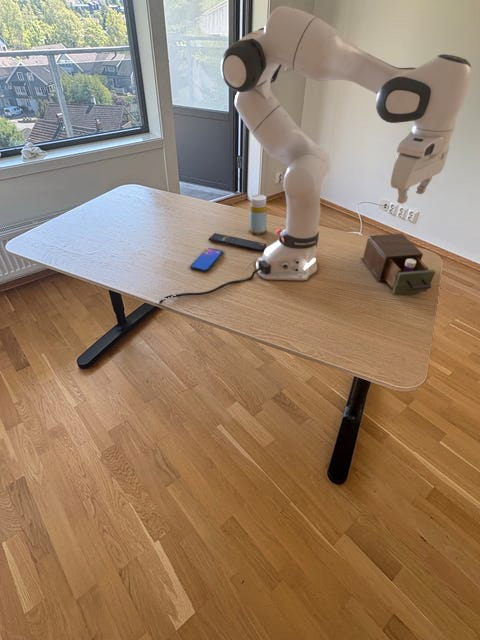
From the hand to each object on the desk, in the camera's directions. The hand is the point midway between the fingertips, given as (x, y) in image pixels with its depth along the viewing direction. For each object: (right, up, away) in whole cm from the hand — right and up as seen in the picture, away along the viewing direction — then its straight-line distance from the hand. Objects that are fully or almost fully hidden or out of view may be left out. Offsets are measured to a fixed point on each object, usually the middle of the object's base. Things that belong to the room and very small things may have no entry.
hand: (410, 197), depth 91 cm
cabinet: (+8, -14, +35) cm, 38 cm away
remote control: (-46, -2, +50) cm, 68 cm away
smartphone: (-58, -10, +41) cm, 71 cm away
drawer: (+10, -21, +25) cm, 34 cm away
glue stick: (+10, -20, +25) cm, 33 cm away
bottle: (-38, +6, +58) cm, 70 cm away
